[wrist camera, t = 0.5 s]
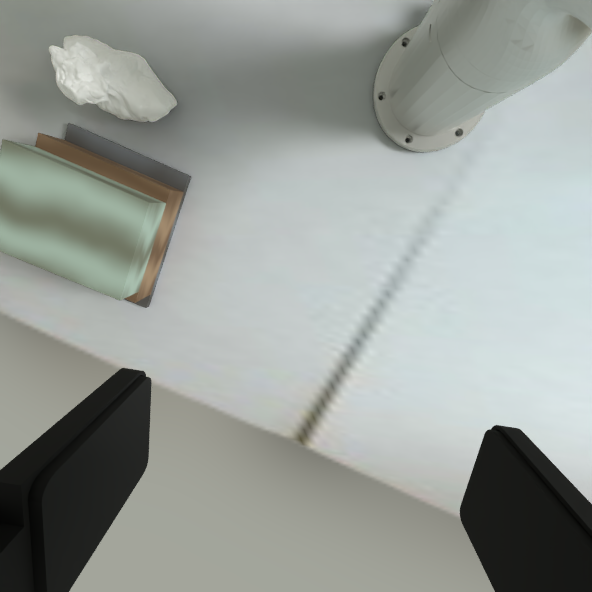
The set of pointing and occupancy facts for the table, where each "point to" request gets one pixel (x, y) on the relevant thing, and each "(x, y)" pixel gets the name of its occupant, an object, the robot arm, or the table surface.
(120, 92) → the bust
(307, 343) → the table surface
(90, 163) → the sage layered slab
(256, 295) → the table surface
